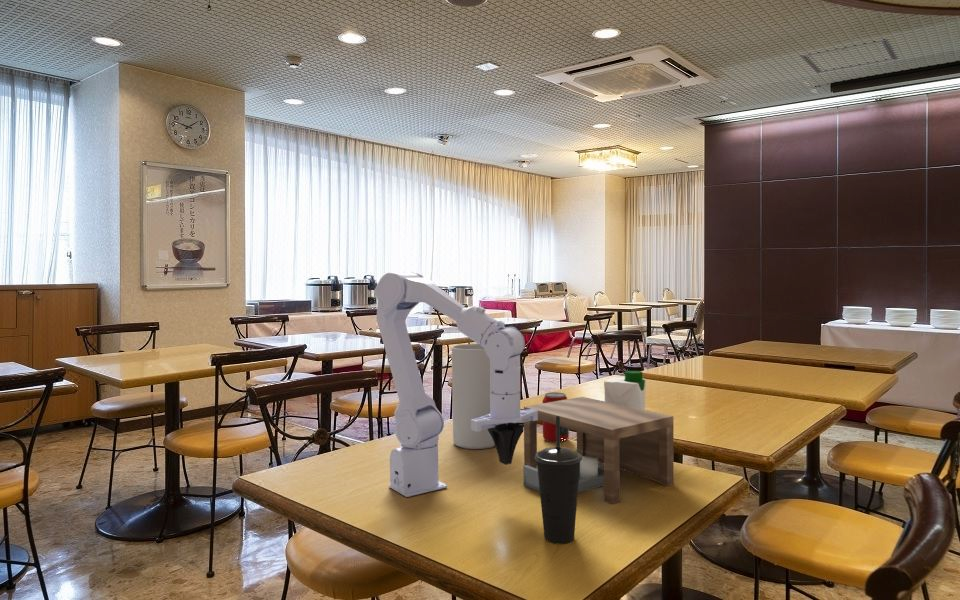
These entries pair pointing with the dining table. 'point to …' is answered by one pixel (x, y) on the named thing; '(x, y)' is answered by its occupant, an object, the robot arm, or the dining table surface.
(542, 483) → the drinking cup
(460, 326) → the robot arm
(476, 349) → the cylinder vase
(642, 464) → the wooden side table
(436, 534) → the dining table surface
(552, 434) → the beverage can
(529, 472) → the tray
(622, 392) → the milk carton
